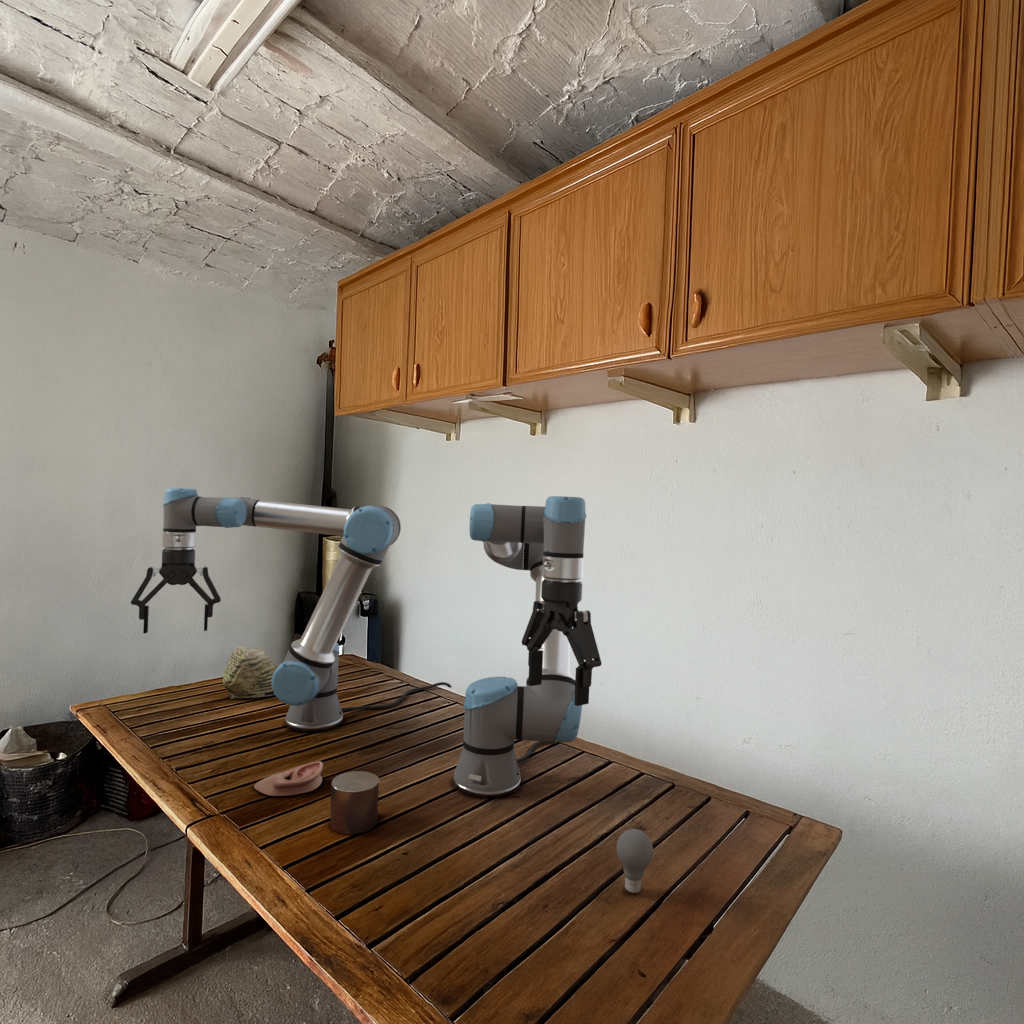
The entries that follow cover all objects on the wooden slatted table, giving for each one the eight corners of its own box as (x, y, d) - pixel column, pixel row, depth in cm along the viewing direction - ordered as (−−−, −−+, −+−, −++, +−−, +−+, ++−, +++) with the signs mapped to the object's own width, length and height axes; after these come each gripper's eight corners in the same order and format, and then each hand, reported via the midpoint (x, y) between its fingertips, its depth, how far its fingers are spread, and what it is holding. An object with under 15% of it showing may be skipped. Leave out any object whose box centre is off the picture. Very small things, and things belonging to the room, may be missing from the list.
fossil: (218, 695, 195) (220, 647, 195) (278, 685, 208) (279, 640, 207) (228, 703, 189) (230, 653, 188) (289, 692, 201) (290, 645, 201)
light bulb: (610, 879, 108) (613, 822, 108) (644, 879, 109) (647, 822, 109) (619, 902, 102) (622, 840, 102) (655, 901, 103) (658, 840, 103)
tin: (371, 807, 130) (372, 768, 130) (382, 829, 122) (384, 787, 122) (326, 815, 126) (327, 775, 126) (334, 838, 118) (336, 794, 118)
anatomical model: (246, 773, 134) (276, 753, 145) (245, 792, 134) (276, 770, 145) (303, 782, 131) (330, 760, 142) (302, 801, 131) (329, 777, 142)
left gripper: (119, 549, 153) (117, 636, 154) (232, 550, 164) (229, 631, 164) (124, 546, 160) (121, 630, 160) (232, 547, 170) (229, 625, 171)
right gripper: (507, 572, 125) (502, 679, 125) (592, 589, 105) (587, 717, 105) (537, 572, 130) (532, 675, 130) (625, 587, 109) (619, 710, 109)
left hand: (176, 631), depth 162 cm, fingers open, 13 cm apart
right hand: (557, 694), depth 117 cm, fingers open, 13 cm apart
